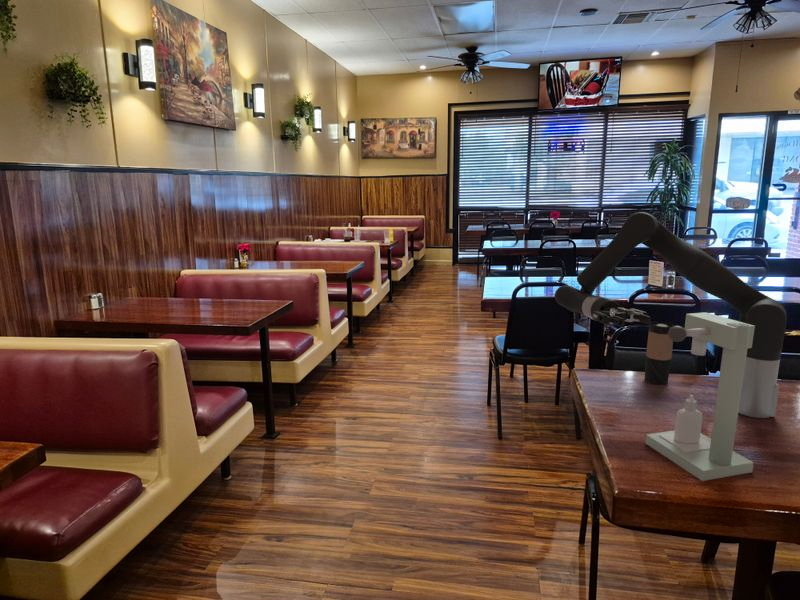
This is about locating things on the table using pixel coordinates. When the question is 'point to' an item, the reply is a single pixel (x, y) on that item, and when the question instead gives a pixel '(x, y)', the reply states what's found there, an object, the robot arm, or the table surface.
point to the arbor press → (716, 452)
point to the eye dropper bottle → (688, 423)
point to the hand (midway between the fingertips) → (636, 321)
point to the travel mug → (658, 353)
